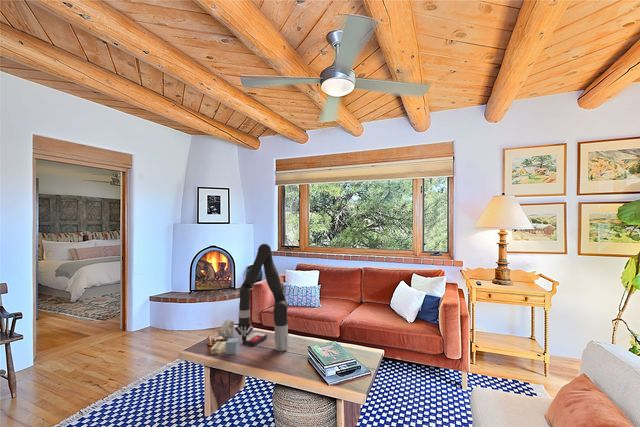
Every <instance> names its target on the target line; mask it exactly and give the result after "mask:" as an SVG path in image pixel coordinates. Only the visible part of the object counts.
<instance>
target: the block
mask: <svg viewBox="0 0 640 427" xmlns="http://www.w3.org/2000/svg"><path fill="white" fill-rule="evenodd" d="M225 342H226V347H225V355H237V354H238V352H239V351H240V338H239V337H238V338H234V337H231V338H229V339H228V340H226V341H225Z"/></svg>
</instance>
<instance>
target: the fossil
mask: <svg viewBox="0 0 640 427" xmlns="http://www.w3.org/2000/svg"><path fill="white" fill-rule="evenodd" d="M217 334H218V335H219V336H222V337H223V339H224V340H223V341H227V340H228V339H229V338H233V336H234V335H235V320H234V319H227V320H225V322H224V323H222V325H221V327H220V328H219V330H218V331H217ZM218 335H217V336H218Z"/></svg>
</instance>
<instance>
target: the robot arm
mask: <svg viewBox="0 0 640 427" xmlns="http://www.w3.org/2000/svg"><path fill="white" fill-rule="evenodd" d="M262 267H263V272H264V277H265V280H266V281H265V282H266V283H267V286H268V288H269V290H270V291H271V293H272V295H273V299H274V306H273V321H274V350H275V351H276V352H284V351H288V349H289V343H290V342H289V340H290V339H289V333H288V332H289V331H288V330H289V325H288V324H289V323H288V321H289V320H288V309H289V305H288V301H287V299H286V297H285V294H284V292H283V287H282V283H281V279H280V276H279V272H278V270H277V267H276V265H275V263H274V260H273V255H272V248H271V246H270V245H269V244H267V243H261V244H260V245H259V246H258V248H257V253H256V257H255V259H254V261H253V263H252V265H251V267H250V268H249V270H248V272H247V275H246V277H244V278H245V279H244V281H243V282H242V284H241V285H240V287H239V291H238V294H239V305H238V306H239V307H238V308H239V309H238V325H237V326H236V327H234V331H236V332H237V334H238V335H239V336H241V340H242V341H241V342H242V343H243V342H245V341H246V339H247V337H248V336H250V335H249V334H250V333H251V332H252V331H253V330H254V326H252V325H251V311H250V310H251V309H250V307H251V306H250V300H251V289H252V287H253V285H255V283H256V281H257V279H258V276H259V274H260V271H261V270H262ZM248 330H249V331H248Z"/></svg>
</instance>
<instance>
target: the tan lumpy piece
mask: <svg viewBox="0 0 640 427" xmlns="http://www.w3.org/2000/svg"><path fill="white" fill-rule="evenodd" d="M226 342H227V341H216V343H214V345H212V347H210V354H211V355H220V354H221V353H222V352H223V350H224V349H226Z"/></svg>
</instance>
